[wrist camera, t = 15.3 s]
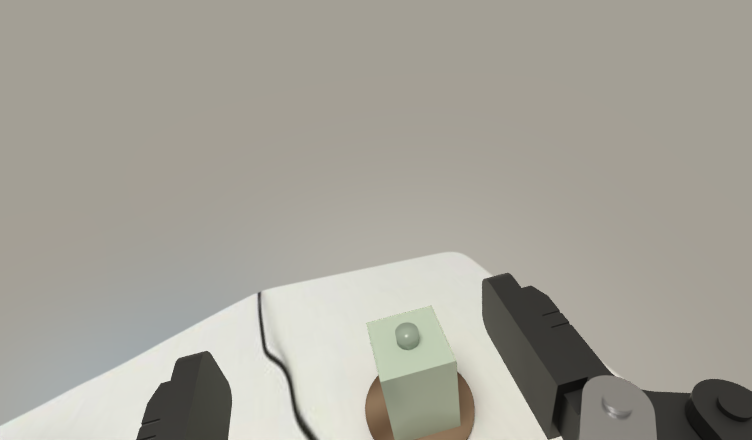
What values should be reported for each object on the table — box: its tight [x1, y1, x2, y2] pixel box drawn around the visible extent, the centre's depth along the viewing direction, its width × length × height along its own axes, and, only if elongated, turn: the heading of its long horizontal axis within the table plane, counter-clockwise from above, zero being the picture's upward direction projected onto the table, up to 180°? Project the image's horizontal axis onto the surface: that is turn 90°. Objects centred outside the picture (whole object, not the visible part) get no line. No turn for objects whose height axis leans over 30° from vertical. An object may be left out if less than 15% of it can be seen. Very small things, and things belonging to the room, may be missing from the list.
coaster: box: [365, 372, 474, 440], centre depth 40 cm, size 11×11×1 cm
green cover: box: [366, 306, 461, 440], centre depth 37 cm, size 6×6×11 cm
